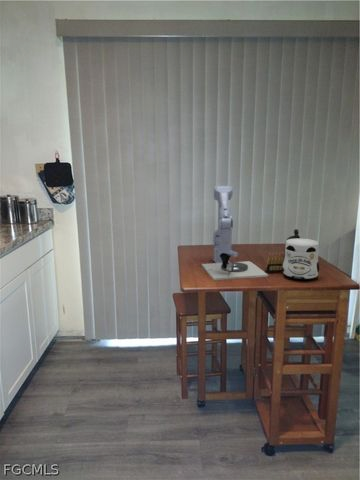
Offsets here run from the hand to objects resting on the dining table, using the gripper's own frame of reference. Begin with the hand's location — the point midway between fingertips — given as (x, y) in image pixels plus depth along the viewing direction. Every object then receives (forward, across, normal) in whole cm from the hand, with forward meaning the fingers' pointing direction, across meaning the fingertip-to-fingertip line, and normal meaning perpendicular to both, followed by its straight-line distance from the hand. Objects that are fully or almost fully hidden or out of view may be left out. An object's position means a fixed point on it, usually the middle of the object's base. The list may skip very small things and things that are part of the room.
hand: (225, 267), depth 190 cm
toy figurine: (+4, +1, +59) cm, 59 cm away
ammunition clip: (+4, +13, +24) cm, 27 cm away
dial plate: (+4, -2, +8) cm, 9 cm away
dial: (+3, -2, +8) cm, 8 cm away
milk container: (+4, +27, +26) cm, 37 cm away
